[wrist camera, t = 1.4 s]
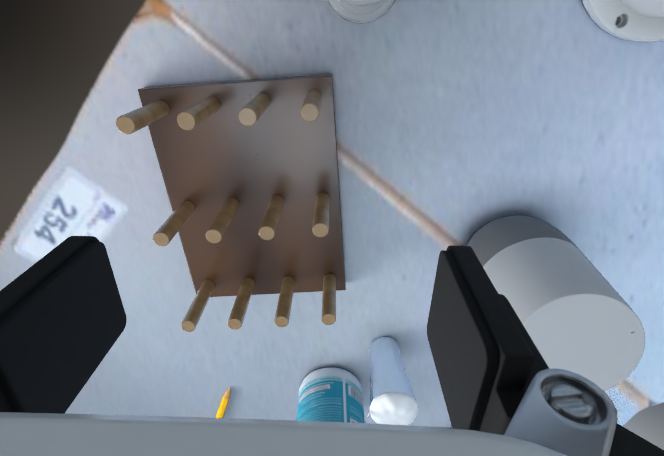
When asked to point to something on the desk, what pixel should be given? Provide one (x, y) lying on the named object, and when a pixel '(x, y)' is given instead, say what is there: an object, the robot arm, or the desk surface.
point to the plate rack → (250, 188)
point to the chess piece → (361, 9)
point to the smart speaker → (561, 299)
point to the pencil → (223, 404)
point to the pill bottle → (330, 397)
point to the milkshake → (390, 385)
